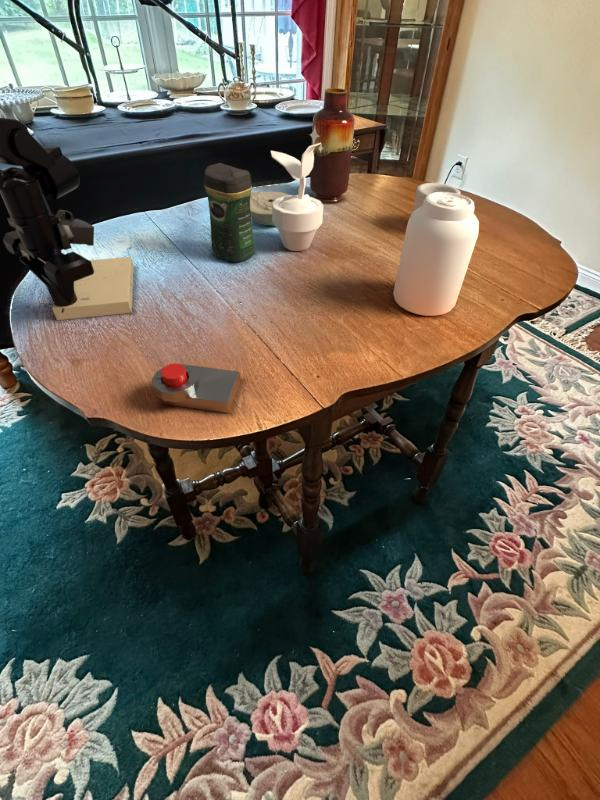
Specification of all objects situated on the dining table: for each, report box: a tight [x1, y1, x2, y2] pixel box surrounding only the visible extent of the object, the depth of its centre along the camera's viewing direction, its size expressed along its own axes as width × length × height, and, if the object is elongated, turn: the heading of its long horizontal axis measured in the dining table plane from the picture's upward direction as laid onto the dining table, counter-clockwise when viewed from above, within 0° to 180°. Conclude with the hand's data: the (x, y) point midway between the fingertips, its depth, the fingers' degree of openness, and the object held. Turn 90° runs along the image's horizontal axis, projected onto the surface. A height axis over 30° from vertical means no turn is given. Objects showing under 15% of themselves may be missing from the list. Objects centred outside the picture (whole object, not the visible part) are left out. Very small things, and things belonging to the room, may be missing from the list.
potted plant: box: [270, 127, 324, 252], centre depth 95 cm, size 13×12×25 cm
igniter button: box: [161, 363, 187, 388], centre depth 62 cm, size 3×3×2 cm
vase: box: [309, 87, 356, 204], centre depth 118 cm, size 11×11×26 cm
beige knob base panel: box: [40, 256, 135, 321], centre depth 84 cm, size 15×20×3 cm
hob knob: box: [45, 281, 77, 307], centre depth 77 cm, size 4×4×4 cm
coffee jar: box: [203, 162, 256, 263], centre depth 93 cm, size 10×8×19 cm
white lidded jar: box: [392, 192, 480, 317], centre depth 81 cm, size 12×12×20 cm
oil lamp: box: [250, 191, 291, 226], centre depth 113 cm, size 21×14×5 cm
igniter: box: [151, 363, 241, 414], centre depth 65 cm, size 11×8×4 cm
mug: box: [411, 182, 462, 214], centre depth 110 cm, size 14×11×10 cm
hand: (64, 298), depth 78 cm, fingers closed on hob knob, 4 cm apart
